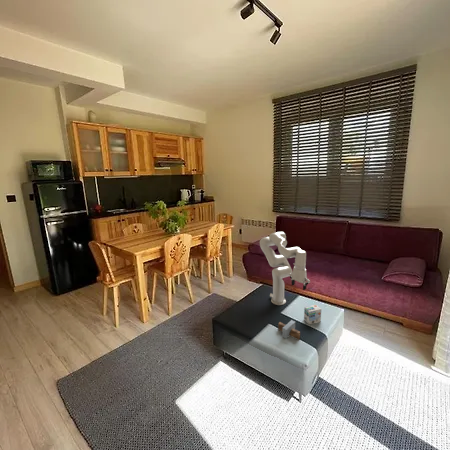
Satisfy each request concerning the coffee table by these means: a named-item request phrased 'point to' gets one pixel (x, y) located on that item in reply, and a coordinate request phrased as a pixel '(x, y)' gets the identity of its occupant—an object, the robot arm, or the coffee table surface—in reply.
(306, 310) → the light bulb box
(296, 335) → the rail
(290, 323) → the bar
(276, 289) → the robot arm
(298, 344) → the coffee table surface
